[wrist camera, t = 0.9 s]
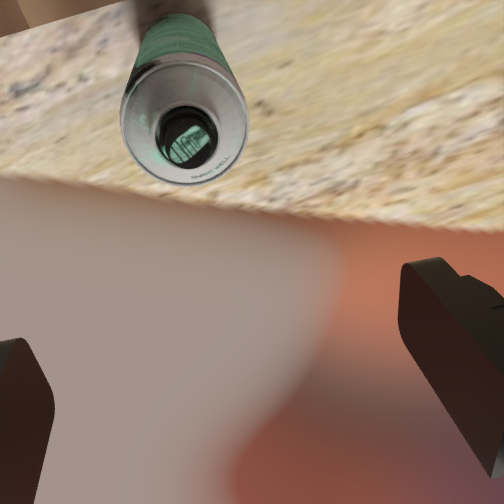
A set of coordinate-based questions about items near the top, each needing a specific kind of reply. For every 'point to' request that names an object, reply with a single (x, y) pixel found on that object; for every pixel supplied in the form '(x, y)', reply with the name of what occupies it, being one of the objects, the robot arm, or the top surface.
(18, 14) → the walnut holder
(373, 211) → the top surface
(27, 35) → the top surface
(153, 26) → the spray can
